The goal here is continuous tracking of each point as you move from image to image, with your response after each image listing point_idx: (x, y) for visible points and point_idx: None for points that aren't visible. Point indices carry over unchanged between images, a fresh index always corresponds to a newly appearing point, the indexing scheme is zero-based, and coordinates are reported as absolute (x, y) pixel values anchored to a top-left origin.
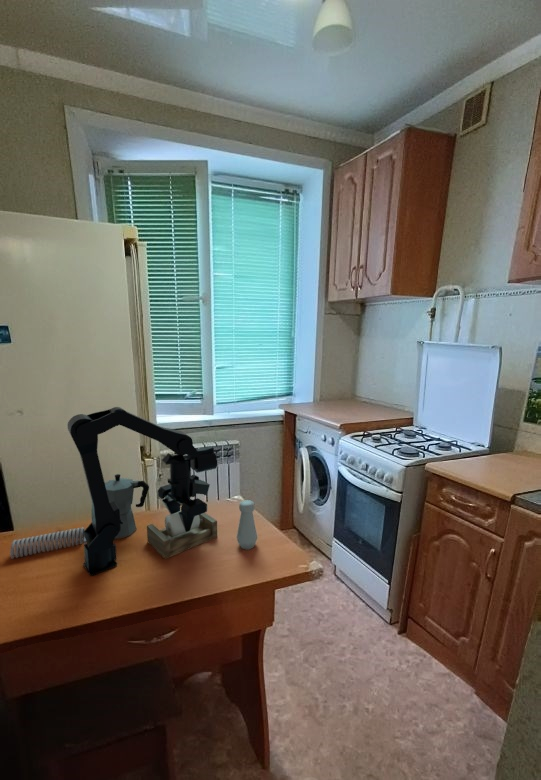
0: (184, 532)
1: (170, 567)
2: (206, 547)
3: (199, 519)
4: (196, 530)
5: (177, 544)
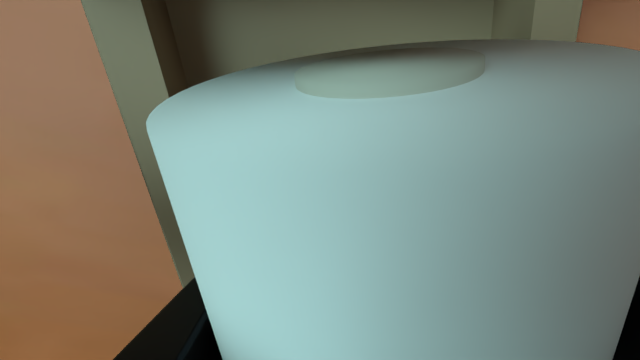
0: None
1: None
2: (620, 43)
3: (626, 54)
4: (334, 17)
5: None
